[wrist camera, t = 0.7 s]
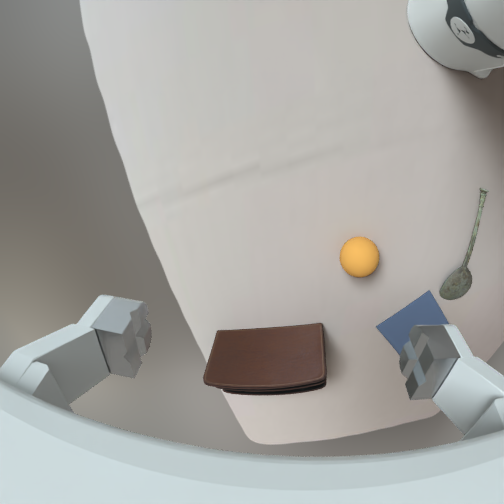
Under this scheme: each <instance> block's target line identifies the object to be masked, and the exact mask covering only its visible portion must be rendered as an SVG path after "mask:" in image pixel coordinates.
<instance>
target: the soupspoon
mask: <svg viewBox="0 0 504 504" xmlns="http://www.w3.org/2000/svg"><path fill="white" fill-rule="evenodd" d="M480 190H481V193H480V195H481V198H480V205H479V211H478V215H477V219H476V223H475V227H474V231H473V235H472V239H471V242H470V246H469V249H468V252H467V255H466V258H465V260H464V263H463V265H462V267H460V268H458V269H457V270H456V271H455V272H453V274H452V275H451V276H450V277H449V278H448V279H447V280H446V281H445V283H444V284H443V286H442V288H441V290H440V296H441V297H442V298H444V299H447V300H453V299H457V298H459V297H461V296H463V295H464V294H465V293H466V292H467V291H468V290H469V289H470V287H471V284H472V275H471V272H470V271H469V269H468V268H467V265H468V262H469V259H470V256H471V253H472V250H473V246H474V243H475V239H476V235H477V230H478V226H479V222H480V217H481V213H482V208H483V207H484V206H483V203H484V201H485V197H486V192H489V191H488V190H485V189H481V188H480Z"/></svg>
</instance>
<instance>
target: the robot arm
mask: <svg viewBox="0 0 504 504" xmlns="http://www.w3.org/2000/svg"><path fill="white" fill-rule="evenodd" d="M407 14H408V21H409V24H410V27H411V30H412V32H413V34H414V36H415V38H416V40H417V41H418V43H419V44H420V45H421V47H422V48H423V49H424V50H425V51H426V53H428V54H429V55H430V56H431V57H432V58H433V59H434V60H436V61H437V62H439V63H440V64H442V65H444V66H446V67H448V68H451V69H455V70H462V71H468V72H470V73H471V74H473V75H475V76H476V77H478V78H481V79H482V78H486V77H487V76H488V75H489V74H490V72H491V71H492V69H494V68H500V67H504V0H409V2H408V8H407ZM147 315H148V308H147V304H146V303H145V302H142V301H137V300H131V299H126V298H120V297H114V296H109V295H100V296H99V297H98V298H97V299H96V300H95V302H94V303H93V304H92V305H91V307H90V308H89V309H88V310H87V312H86V313H85V314H84V315H83V317H82V318H81V319H80V321H79V322H78V323H77V324H71V325H69V326H67V327H64V328H62V329H60V330H58V331H56V332H53V333H51V334H49V335H47V336H45V337H43V338H40V339H38V340H36V341H34V342H32V343H30V344H28V345H25V346H23V347H21V348H19V349H17V350H15V351H14V352H13V353H12V354H11V355H10V356H9V358H8V359H7V360H6V362H5V363H4V364H3V366H2V367H1V368H0V504H504V376H503V375H502V374H500V373H499V372H498V371H496V370H495V369H493V368H492V367H491V366H489V365H488V364H487V363H485V362H484V361H482V360H481V359H480V358H478V357H474V356H473V354H472V353H471V351H470V349H469V347H468V345H467V344H466V342H465V340H464V338H463V337H462V335H461V333H460V332H459V330H458V328H457V327H456V326H455V325H453V324H444V325H414V326H413V327H412V328H411V330H410V332H409V338H410V341H409V342H407V343H406V344H405V345H404V346H403V348H402V351H401V353H400V360H399V363H400V369H401V373H402V374H403V375H404V376H405V377H406V378H407V381H406V383H405V385H406V388H407V392H408V395H409V398H410V400H418V399H432V400H433V401H434V402H435V404H436V405H437V406H438V407H439V408H440V409H441V410H442V411H443V412H444V413H445V414H446V416H447V417H448V418H449V419H450V420H451V421H452V422H453V423H454V424H455V425H456V427H457V428H458V429H459V430H460V431H461V432H462V433H463V434H464V437H463V438H462V439H461V440H460V441H459V442H455V443H450V444H445V445H440V446H435V447H429V448H423V449H416V450H409V451H402V452H393V453H384V454H373V455H358V456H335V457H303V456H300V457H299V456H277V455H263V454H262V455H261V454H252V453H242V452H233V451H224V450H218V449H211V448H205V447H199V446H193V445H187V444H182V443H177V442H173V441H168V440H163V439H159V438H155V437H150V436H146V435H143V434H139V433H135V432H131V431H128V430H124V429H121V428H117V427H114V426H111V425H108V424H104V423H101V422H98V421H95V420H92V419H89V418H86V417H83V416H81V415H78V414H75V413H74V412H73V410H72V409H71V407H70V405H69V404H70V403H72V402H73V401H74V400H76V399H77V398H79V397H80V396H81V395H83V394H84V393H85V392H87V391H88V390H90V389H91V388H92V387H94V386H95V385H97V384H98V383H99V382H101V381H102V380H103V379H105V378H106V377H107V376H109V375H110V373H112V374H116V375H121V376H125V377H130V378H135V377H136V375H137V373H138V370H139V368H140V366H141V364H142V361H141V356H142V355H144V354H146V353H147V351H148V349H149V347H150V343H151V338H152V330H151V324H150V323H149V322H148V321H147V320H146V317H147Z"/></svg>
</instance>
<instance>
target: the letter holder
mask: <svg viewBox="0 0 504 504" xmlns="http://www.w3.org/2000/svg"><path fill="white" fill-rule="evenodd" d="M326 375H327V369H326V359H325V345H324V334H323V325H322V323H317V324H308V325H298V326H285V327H272V328H256V329H240V330H218V331H217V333H216V337H215V340H214V343H213V347H212V350H211V353H210V356H209V360H208V363H207V366H206V370H205V373H204V377H203V379H204V383H205V384H206V385H208V386H214V387H216V388H219V389H223V391H224V392H226V393H231V394H239V395H285V394H295V393H303V392H309V391H314V390H318V389H321V388H323V387H325V386H326Z"/></svg>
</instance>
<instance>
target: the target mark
mask: <svg viewBox="0 0 504 504" xmlns="http://www.w3.org/2000/svg"><path fill="white" fill-rule="evenodd" d="M444 324H449V323H448V321H447V319H446V318H445V316H444V314H443V312H442V311H441V309H440V307H439V306H438V304H437V302H436V301H435V299H434V297H433V296H432V294H431V292H430V291H428V292H426V293H425V294H423V295H422V296H421V297H419V298H418V299H416V300H415V301H414V302H412V303H411V304H409V305H408V306H406V307H405V308H403V309H402V310H400V311H399V312H398V313H396V314H395V315H393V316H392V317H390V318H388V319H387V320H385V321H384V322H382V323H381V324H379V325H378V326H376V327H377V329H378V330H379V331H380V332H381V333H382V334H383V336H384V337H385V338H386V339H387V340H388V341H389V343H390V344H391V345H392V346H393V347H394V349H395V350H396V351H397V352H398V353H399V355H400V353H401V351H402V348H403V346H404V345H405V344H406V343H407V342H409V341H410V338H409V332H410V330H411V328H412V327H413V326H414V325H444Z"/></svg>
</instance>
